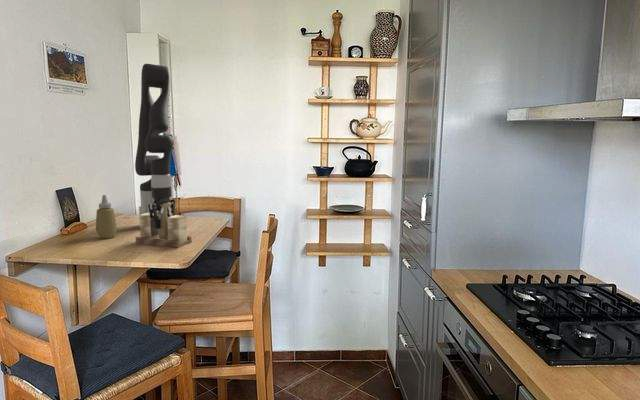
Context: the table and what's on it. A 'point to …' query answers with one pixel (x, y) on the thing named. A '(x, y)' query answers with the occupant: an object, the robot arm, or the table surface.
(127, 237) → the table surface
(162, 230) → the beige tall post
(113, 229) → the squeeze bottle
